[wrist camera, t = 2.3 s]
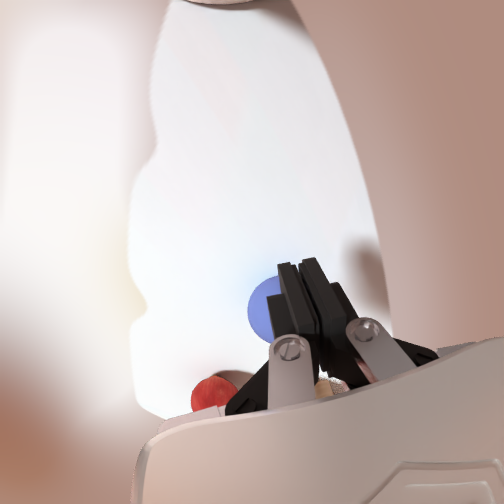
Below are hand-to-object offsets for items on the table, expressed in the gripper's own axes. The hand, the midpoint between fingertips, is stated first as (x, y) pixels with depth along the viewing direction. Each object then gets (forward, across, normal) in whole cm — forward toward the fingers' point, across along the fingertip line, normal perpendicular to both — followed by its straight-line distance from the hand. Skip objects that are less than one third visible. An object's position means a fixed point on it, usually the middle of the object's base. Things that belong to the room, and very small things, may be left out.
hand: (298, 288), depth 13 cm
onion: (+12, +9, +20) cm, 25 cm away
